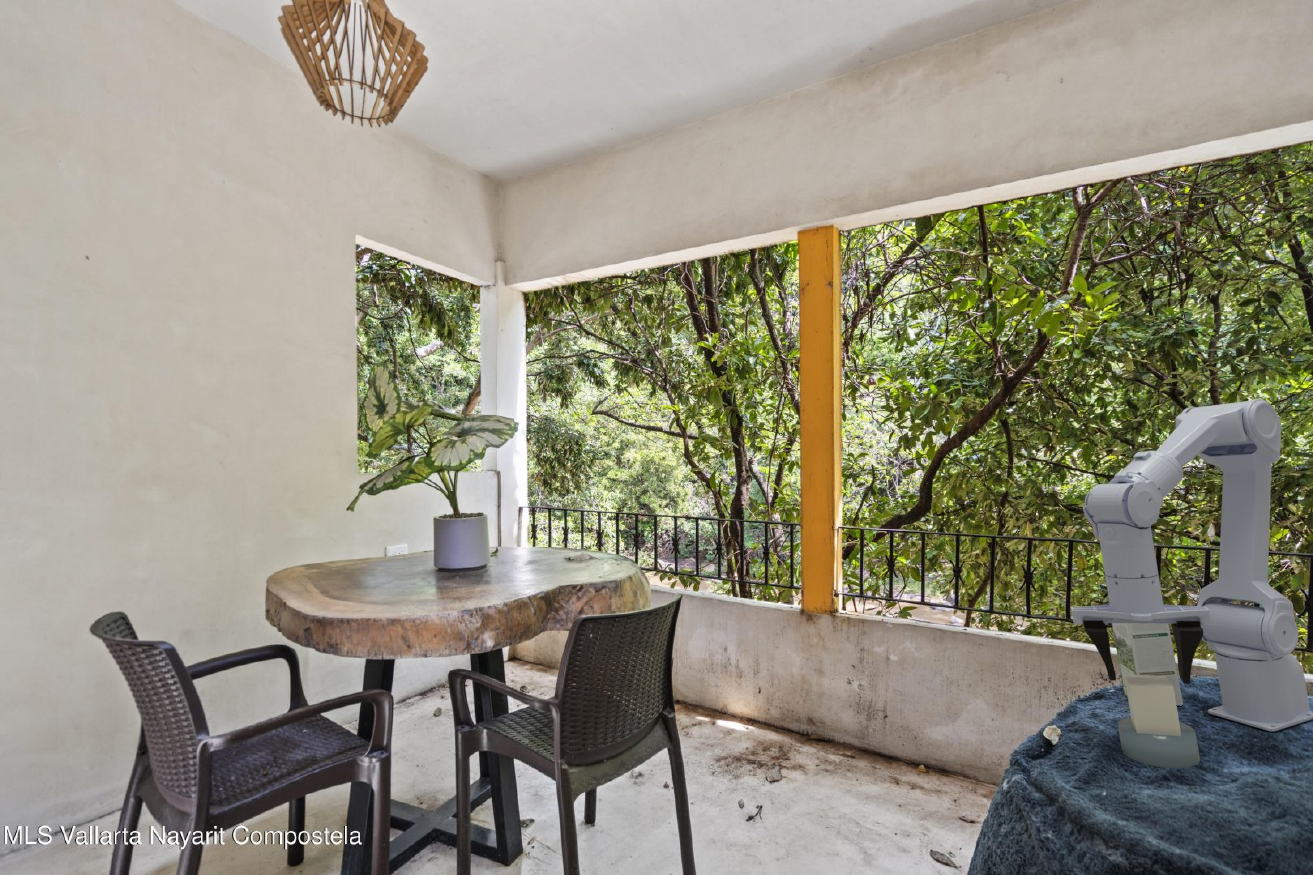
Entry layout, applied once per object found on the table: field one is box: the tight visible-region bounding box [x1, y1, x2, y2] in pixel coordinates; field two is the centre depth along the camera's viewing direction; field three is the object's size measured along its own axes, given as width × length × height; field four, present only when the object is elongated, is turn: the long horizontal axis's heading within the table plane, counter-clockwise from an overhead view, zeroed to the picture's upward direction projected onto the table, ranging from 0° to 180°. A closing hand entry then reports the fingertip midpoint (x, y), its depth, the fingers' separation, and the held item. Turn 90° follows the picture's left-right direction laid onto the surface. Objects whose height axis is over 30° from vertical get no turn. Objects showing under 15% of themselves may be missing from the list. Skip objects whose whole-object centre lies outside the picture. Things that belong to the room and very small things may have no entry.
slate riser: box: [1117, 716, 1201, 769], centre depth 83 cm, size 8×8×4 cm
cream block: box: [1124, 674, 1181, 736], centre depth 84 cm, size 4×4×6 cm
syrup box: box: [1111, 623, 1184, 706], centre depth 99 cm, size 6×6×14 cm
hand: (1147, 679), depth 84 cm, fingers open, 7 cm apart
